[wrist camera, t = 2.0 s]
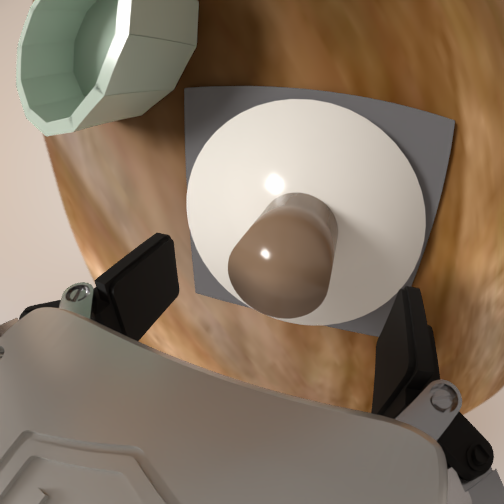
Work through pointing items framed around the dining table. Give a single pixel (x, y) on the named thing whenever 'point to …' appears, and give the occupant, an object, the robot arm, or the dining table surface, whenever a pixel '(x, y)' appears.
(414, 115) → the mat
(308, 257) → the lid
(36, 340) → the robot arm
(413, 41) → the dining table surface
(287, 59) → the dining table surface
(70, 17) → the bowl
